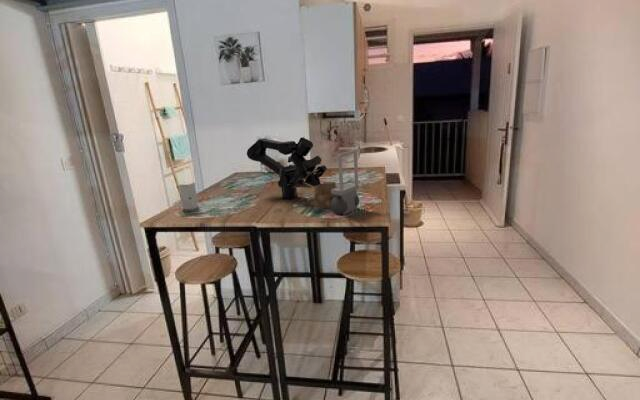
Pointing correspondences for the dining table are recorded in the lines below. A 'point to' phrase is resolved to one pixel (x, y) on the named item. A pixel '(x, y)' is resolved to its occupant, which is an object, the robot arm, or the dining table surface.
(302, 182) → the door stopper
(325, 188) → the brown stepped block
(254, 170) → the dining table surface
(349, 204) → the trolley
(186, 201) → the skincare box
